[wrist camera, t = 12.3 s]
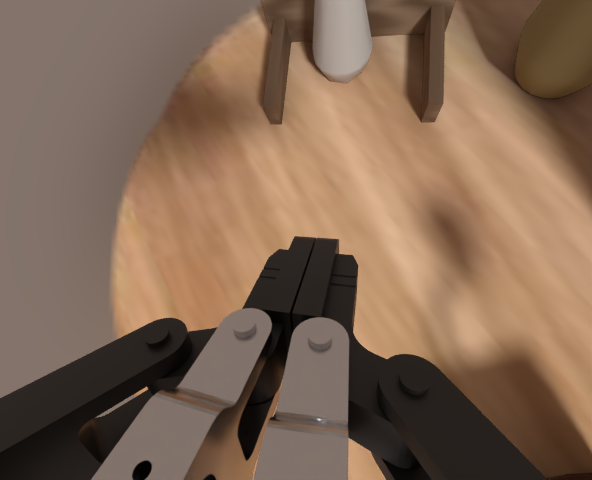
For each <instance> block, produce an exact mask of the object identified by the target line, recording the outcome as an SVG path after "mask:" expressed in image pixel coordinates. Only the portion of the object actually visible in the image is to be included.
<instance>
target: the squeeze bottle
mask: <svg viewBox="0 0 592 480" xmlns="http://www.w3.org/2000/svg"><path fill="white" fill-rule="evenodd" d="M515 78H516V80H517V81H518V83H519V85H520V86H521V88H523V89H524V90H526V91H527V92H529V93H530V94H531V95H535V96H538V97H542V98H560V97H563V96H565V95H568V94H571V93H573V92H575V91H578V90H580V89H582V88H584V87H586V86H588V85H591V84H592V0H543V1H542V2H541V3H540V5H539V6H538V7H537V8H536V10H535V11H534V12H533V14H532V15H531V16H530V18H529V19H528V21H527V23H526V25H525V27H524V29H523V31H522V34H521V37H520V42H519V47H518V52H517V57H516V62H515Z"/></svg>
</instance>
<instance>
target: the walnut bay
mask: <svg viewBox="0 0 592 480" xmlns="http://www.w3.org/2000/svg"><path fill="white" fill-rule="evenodd" d="M260 1H261V4H262V7H263V10H264V13H265V17H266V20H267V23H268V26H269V29H270V33H271V36H272V38H271V46H270V54H269V61H268V69H267V77H266V85H265V93H264V100H263V109H264V111H265V113H266V115H267V117H268V119H269V122H270V124H282V116H283V108H284V99H285V90H286V82H287V73H288V64H289V56H290V47H291V42H299V41H313V27H314V5H315V0H260ZM455 1H456V0H365V2H366V9H367V15H368V21H369V27H370V32H371V37H373V36H388V35H403V34H418V33H424V52H423V85H422V117H421V122H435V120H436V118H437V116H438V113H439V111H440V109H441V107H442V105H443V94H444V38H445V30H446V27H447V25H448V22H449V19H450V16H451V13H452V10H453V7H454V4H455Z"/></svg>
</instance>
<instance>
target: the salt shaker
mask: <svg viewBox="0 0 592 480" xmlns="http://www.w3.org/2000/svg"><path fill="white" fill-rule="evenodd" d="M372 46H373V44H372V38H371V32H370V27H369V21H368V15H367V9H366V2H365V0H315V5H314V27H313V49H312V50H313V55H314V60H315V63H316V65H317V67H318V68H319V69H320V70H321V71H322V72H323V73H324V75H325V76H326V77H327V78H328V79H329V81H333V82H340V83H348V82H349V81H351V80H352V79H353V78H355V77H356V76H358V75H359V74H360V73H361V72H362V71H363V69H364V67H365V66H366V64H367V62H368V61H369V57H370V54H371V50H372Z"/></svg>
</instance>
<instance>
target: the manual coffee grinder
mask: <svg viewBox="0 0 592 480" xmlns="http://www.w3.org/2000/svg"><path fill="white" fill-rule="evenodd" d="M547 480H592V473H591V474H570V475H564V476H558V477H553V478H547Z"/></svg>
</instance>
